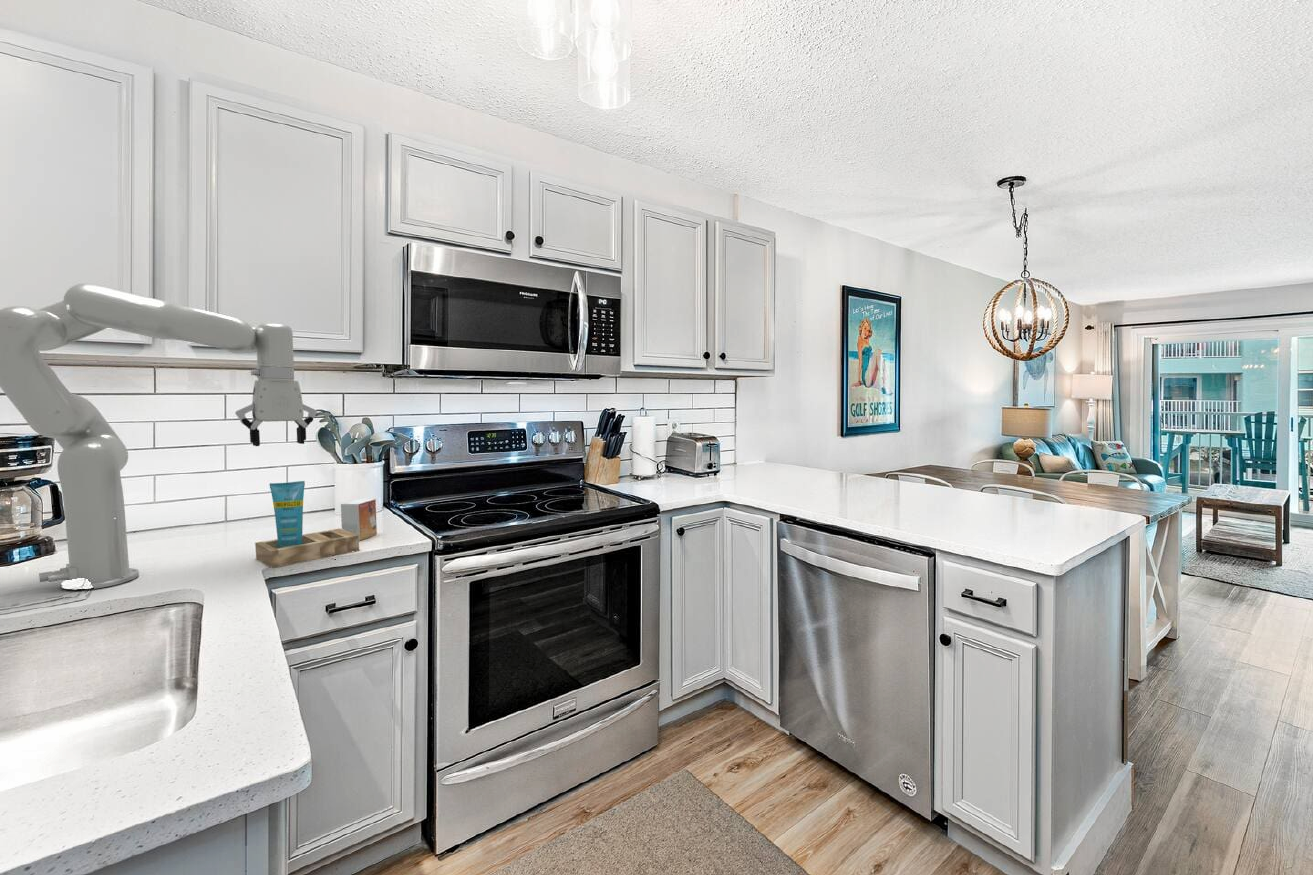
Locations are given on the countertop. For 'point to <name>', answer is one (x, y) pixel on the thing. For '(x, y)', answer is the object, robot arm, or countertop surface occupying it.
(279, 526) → the tube
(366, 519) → the small box
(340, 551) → the holder block
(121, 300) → the robot arm
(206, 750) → the countertop surface
